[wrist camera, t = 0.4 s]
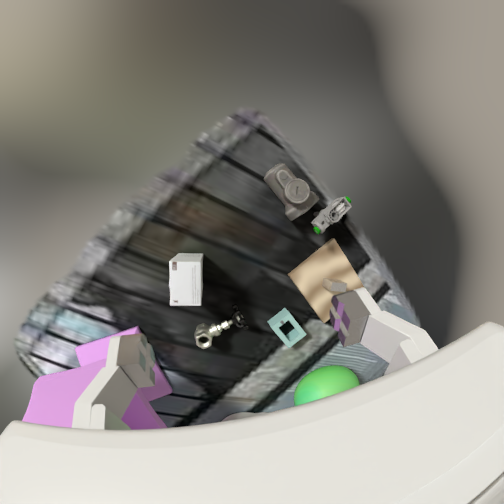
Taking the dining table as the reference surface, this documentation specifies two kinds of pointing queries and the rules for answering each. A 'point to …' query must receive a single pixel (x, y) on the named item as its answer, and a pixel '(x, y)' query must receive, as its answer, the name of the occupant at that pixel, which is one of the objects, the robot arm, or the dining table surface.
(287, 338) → the teal collar
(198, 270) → the skincare box
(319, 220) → the mechanical component
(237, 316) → the valve
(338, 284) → the steel key shaft
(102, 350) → the chair
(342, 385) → the toy bird
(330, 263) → the oak plate
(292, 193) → the pipe fitting
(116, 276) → the dining table surface
